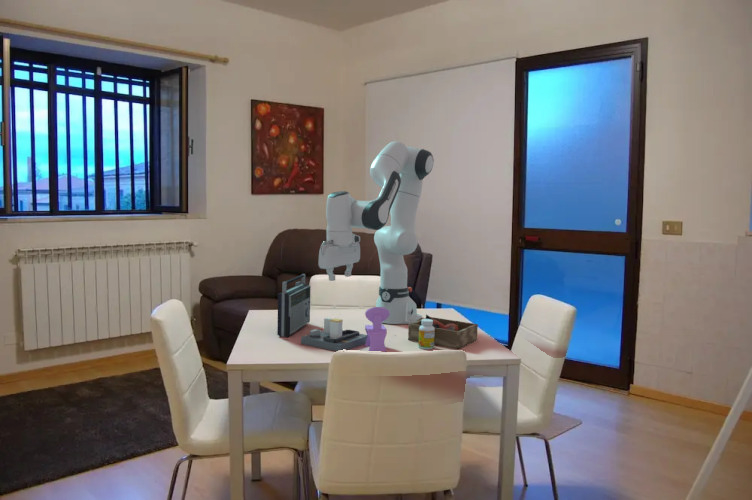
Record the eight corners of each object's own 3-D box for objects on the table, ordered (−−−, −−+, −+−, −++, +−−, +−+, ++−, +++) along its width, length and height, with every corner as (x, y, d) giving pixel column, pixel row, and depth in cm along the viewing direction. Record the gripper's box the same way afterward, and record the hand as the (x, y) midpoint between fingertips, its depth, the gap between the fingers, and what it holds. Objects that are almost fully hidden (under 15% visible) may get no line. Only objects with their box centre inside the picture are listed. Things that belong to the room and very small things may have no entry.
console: (330, 334, 223) (330, 314, 223) (368, 342, 214) (369, 321, 213) (301, 344, 209) (301, 322, 208) (340, 352, 200) (341, 330, 199)
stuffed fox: (418, 317, 223) (444, 312, 229) (429, 346, 219) (455, 340, 225) (428, 309, 217) (454, 304, 223) (439, 338, 213) (465, 333, 219)
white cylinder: (334, 338, 208) (334, 318, 208) (342, 339, 207) (342, 319, 206) (329, 339, 206) (330, 319, 205) (337, 341, 204) (337, 321, 204)
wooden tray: (428, 332, 232) (429, 316, 232) (477, 340, 222) (477, 324, 221) (408, 340, 219) (408, 323, 218) (458, 349, 208) (459, 332, 208)
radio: (291, 338, 217) (292, 283, 215) (277, 336, 218) (278, 282, 216) (311, 323, 241) (312, 274, 239) (299, 322, 242) (300, 273, 240)
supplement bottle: (417, 345, 212) (418, 318, 211) (432, 345, 212) (433, 318, 211) (419, 349, 206) (420, 321, 205) (435, 349, 207) (436, 321, 206)
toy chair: (385, 345, 211) (386, 302, 210) (389, 351, 203) (391, 307, 201) (361, 345, 210) (362, 302, 208) (365, 352, 201) (366, 308, 200)
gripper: (328, 242, 198) (329, 283, 199) (363, 236, 215) (363, 274, 217) (313, 241, 201) (314, 282, 203) (348, 235, 218) (349, 273, 220)
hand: (340, 278), depth 210 cm, fingers open, 8 cm apart
